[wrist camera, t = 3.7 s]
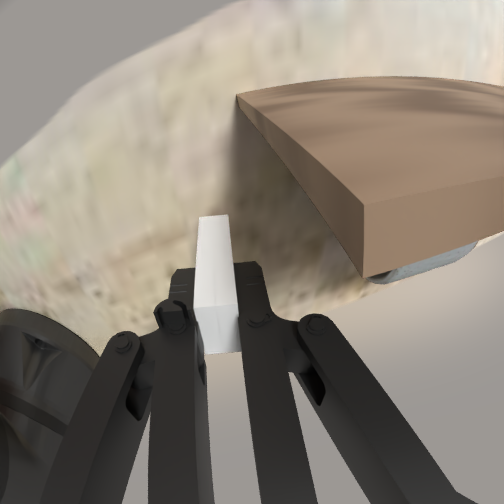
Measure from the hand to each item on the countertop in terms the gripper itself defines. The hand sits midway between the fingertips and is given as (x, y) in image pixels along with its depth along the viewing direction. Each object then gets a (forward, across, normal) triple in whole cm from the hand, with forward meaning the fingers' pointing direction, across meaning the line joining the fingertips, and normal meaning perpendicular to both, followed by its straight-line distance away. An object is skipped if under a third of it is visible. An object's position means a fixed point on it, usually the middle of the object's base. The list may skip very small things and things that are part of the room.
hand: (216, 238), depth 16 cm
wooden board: (+4, -14, -9) cm, 17 cm away
